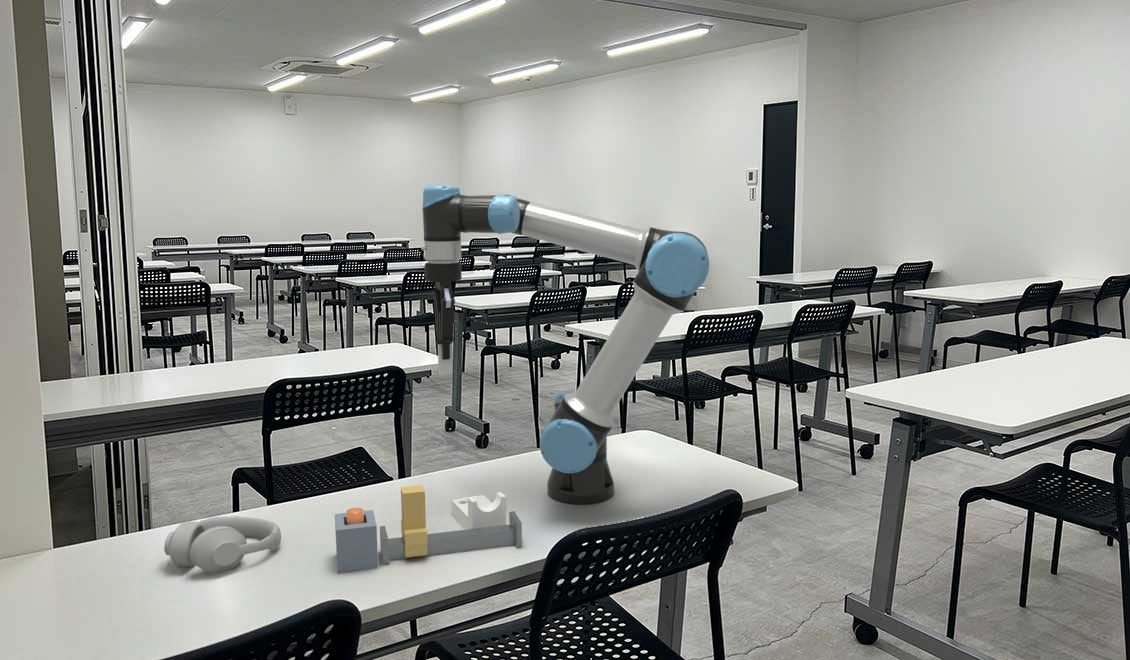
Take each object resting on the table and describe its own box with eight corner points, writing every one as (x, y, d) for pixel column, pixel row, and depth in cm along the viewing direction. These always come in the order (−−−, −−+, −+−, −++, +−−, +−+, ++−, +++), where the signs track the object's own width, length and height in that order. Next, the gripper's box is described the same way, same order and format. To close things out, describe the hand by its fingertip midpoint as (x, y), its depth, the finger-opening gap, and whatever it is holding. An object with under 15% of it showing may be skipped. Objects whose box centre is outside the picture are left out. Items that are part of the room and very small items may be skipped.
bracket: (506, 532, 168) (505, 496, 166) (472, 538, 165) (472, 501, 163) (483, 510, 179) (482, 476, 178) (451, 516, 176) (451, 481, 175)
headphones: (224, 583, 144) (298, 553, 162) (225, 538, 143) (300, 513, 162) (142, 567, 150) (223, 540, 169) (143, 524, 150) (224, 501, 169)
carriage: (422, 541, 161) (421, 482, 159) (427, 556, 154) (426, 494, 152) (401, 543, 159) (399, 484, 158) (405, 559, 153) (403, 496, 151)
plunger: (363, 532, 155) (362, 507, 154) (364, 539, 152) (363, 512, 151) (347, 534, 154) (345, 508, 153) (347, 541, 151) (346, 514, 150)
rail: (514, 535, 165) (514, 511, 165) (521, 547, 160) (521, 522, 159) (380, 551, 158) (379, 526, 157) (383, 564, 152) (382, 538, 151)
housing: (374, 550, 159) (373, 509, 157) (378, 567, 151) (376, 525, 150) (336, 554, 157) (334, 514, 155) (338, 572, 149) (336, 530, 148)
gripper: (420, 259, 177) (423, 368, 181) (428, 264, 165) (432, 381, 169) (455, 258, 179) (457, 366, 183) (466, 263, 167) (468, 379, 171)
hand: (445, 373), depth 176 cm, fingers closed
